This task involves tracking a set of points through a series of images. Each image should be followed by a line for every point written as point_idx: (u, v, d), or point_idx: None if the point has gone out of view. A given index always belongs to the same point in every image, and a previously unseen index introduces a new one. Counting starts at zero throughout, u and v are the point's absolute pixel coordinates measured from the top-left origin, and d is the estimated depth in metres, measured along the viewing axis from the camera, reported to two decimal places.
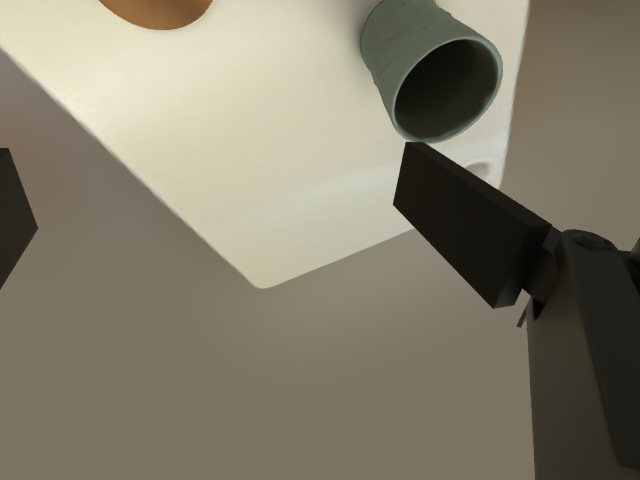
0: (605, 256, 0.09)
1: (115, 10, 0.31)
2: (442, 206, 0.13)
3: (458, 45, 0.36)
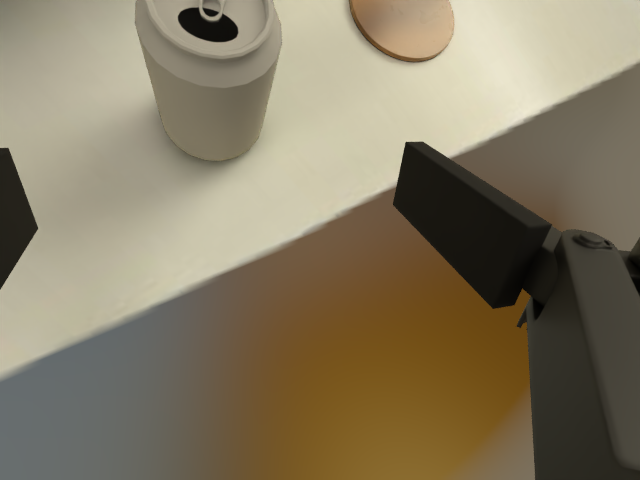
0: (605, 256, 0.09)
1: (445, 43, 0.37)
2: (442, 206, 0.13)
3: None
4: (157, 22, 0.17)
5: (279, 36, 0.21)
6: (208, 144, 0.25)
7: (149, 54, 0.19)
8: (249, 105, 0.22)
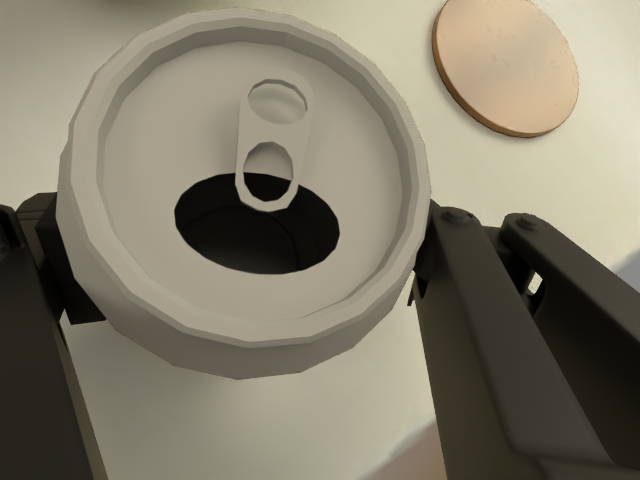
0: (470, 229, 0.09)
1: (570, 106, 0.25)
2: None
3: None
4: (109, 257, 0.05)
5: None
6: None
7: None
8: None
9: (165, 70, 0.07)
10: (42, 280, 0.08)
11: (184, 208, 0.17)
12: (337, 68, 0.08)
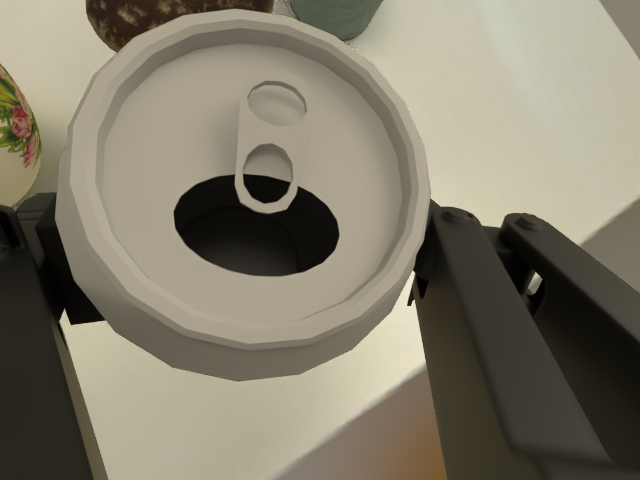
0: (470, 229, 0.09)
1: None
2: None
3: None
4: (108, 260, 0.05)
5: None
6: None
7: None
8: None
9: (165, 72, 0.07)
10: (42, 280, 0.08)
11: (183, 209, 0.17)
12: (337, 69, 0.08)
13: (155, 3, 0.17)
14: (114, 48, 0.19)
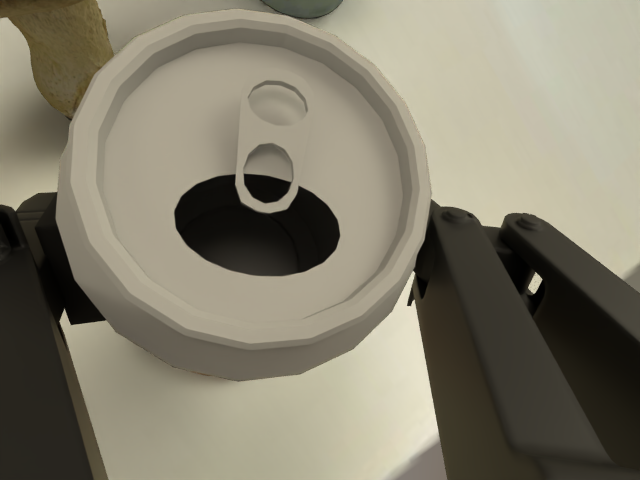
0: (470, 229, 0.09)
1: None
2: None
3: None
4: (109, 259, 0.05)
5: None
6: None
7: None
8: None
9: (165, 71, 0.07)
10: (42, 280, 0.08)
11: (184, 209, 0.17)
12: (337, 69, 0.08)
13: None
14: None
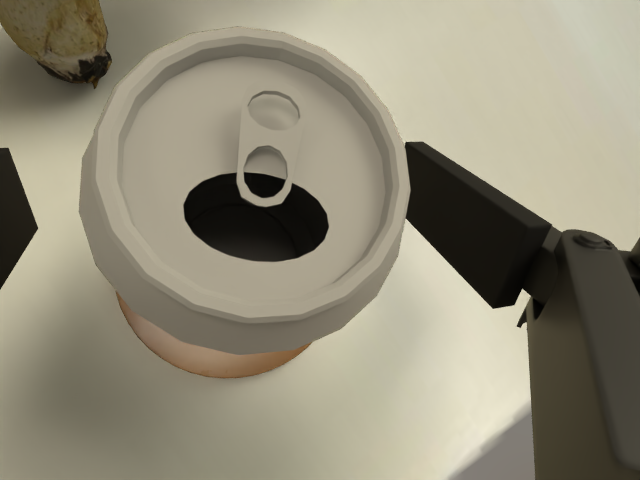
0: (605, 256, 0.09)
1: None
2: (442, 206, 0.13)
3: None
4: (129, 244, 0.06)
5: None
6: None
7: (114, 286, 0.08)
8: None
9: (175, 82, 0.08)
10: None
11: (188, 206, 0.18)
12: (328, 79, 0.09)
13: None
14: None
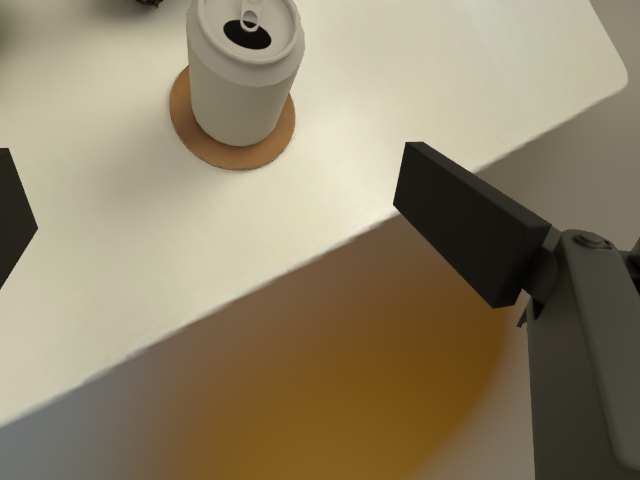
0: (605, 256, 0.09)
1: (281, 147, 0.34)
2: (442, 206, 0.13)
3: None
4: (208, 33, 0.22)
5: (302, 43, 0.25)
6: (235, 132, 0.30)
7: (198, 57, 0.23)
8: (275, 100, 0.26)
9: None
10: None
11: None
12: None
13: None
14: None
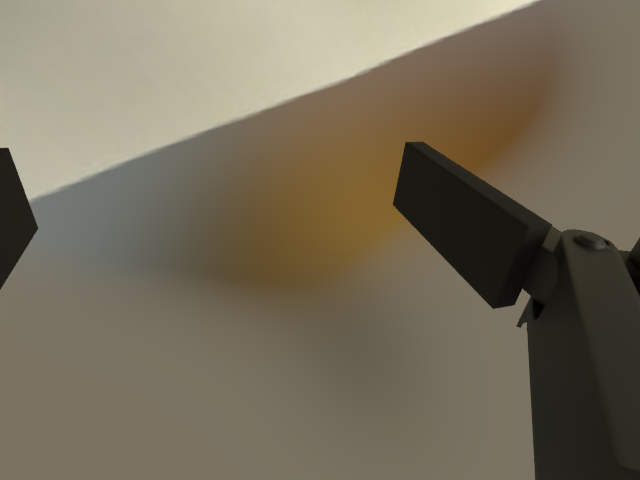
0: (605, 256, 0.09)
1: None
2: (442, 206, 0.13)
3: None
4: None
5: None
6: None
7: None
8: None
9: None
10: None
11: None
12: None
13: None
14: None
